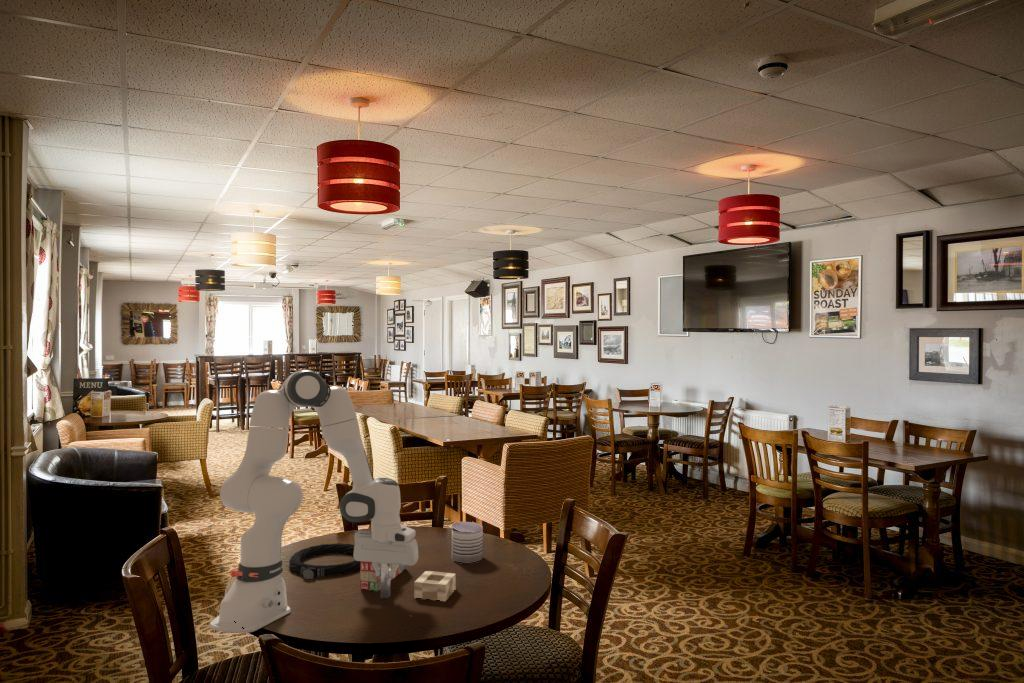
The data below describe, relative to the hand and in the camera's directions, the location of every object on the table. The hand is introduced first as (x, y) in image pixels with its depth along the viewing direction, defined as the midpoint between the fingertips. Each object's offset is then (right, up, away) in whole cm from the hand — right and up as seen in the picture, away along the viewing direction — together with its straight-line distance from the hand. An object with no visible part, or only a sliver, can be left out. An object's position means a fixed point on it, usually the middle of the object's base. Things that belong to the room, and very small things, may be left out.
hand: (385, 576), depth 203 cm
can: (+23, -6, +36) cm, 43 cm away
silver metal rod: (0, -6, 0) cm, 6 cm away
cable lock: (-25, -6, +28) cm, 39 cm away
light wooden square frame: (+15, -6, +3) cm, 16 cm away
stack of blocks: (-3, -6, +15) cm, 17 cm away
